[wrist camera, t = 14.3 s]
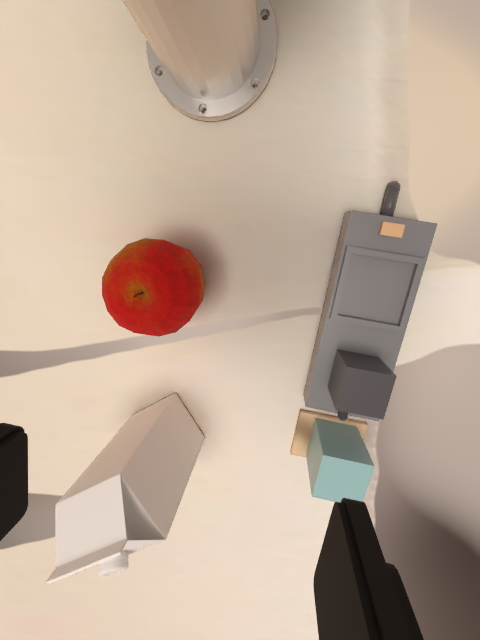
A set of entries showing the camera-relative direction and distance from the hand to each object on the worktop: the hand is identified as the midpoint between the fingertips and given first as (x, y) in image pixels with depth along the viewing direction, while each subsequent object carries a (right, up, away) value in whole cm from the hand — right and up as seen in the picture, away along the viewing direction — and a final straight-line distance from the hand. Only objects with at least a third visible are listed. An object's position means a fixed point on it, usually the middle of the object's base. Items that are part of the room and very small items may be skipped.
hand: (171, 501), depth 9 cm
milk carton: (-7, -8, +32) cm, 34 cm away
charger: (+13, -9, +29) cm, 33 cm away
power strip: (+15, +7, +26) cm, 31 cm away
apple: (-5, +10, +28) cm, 30 cm away
